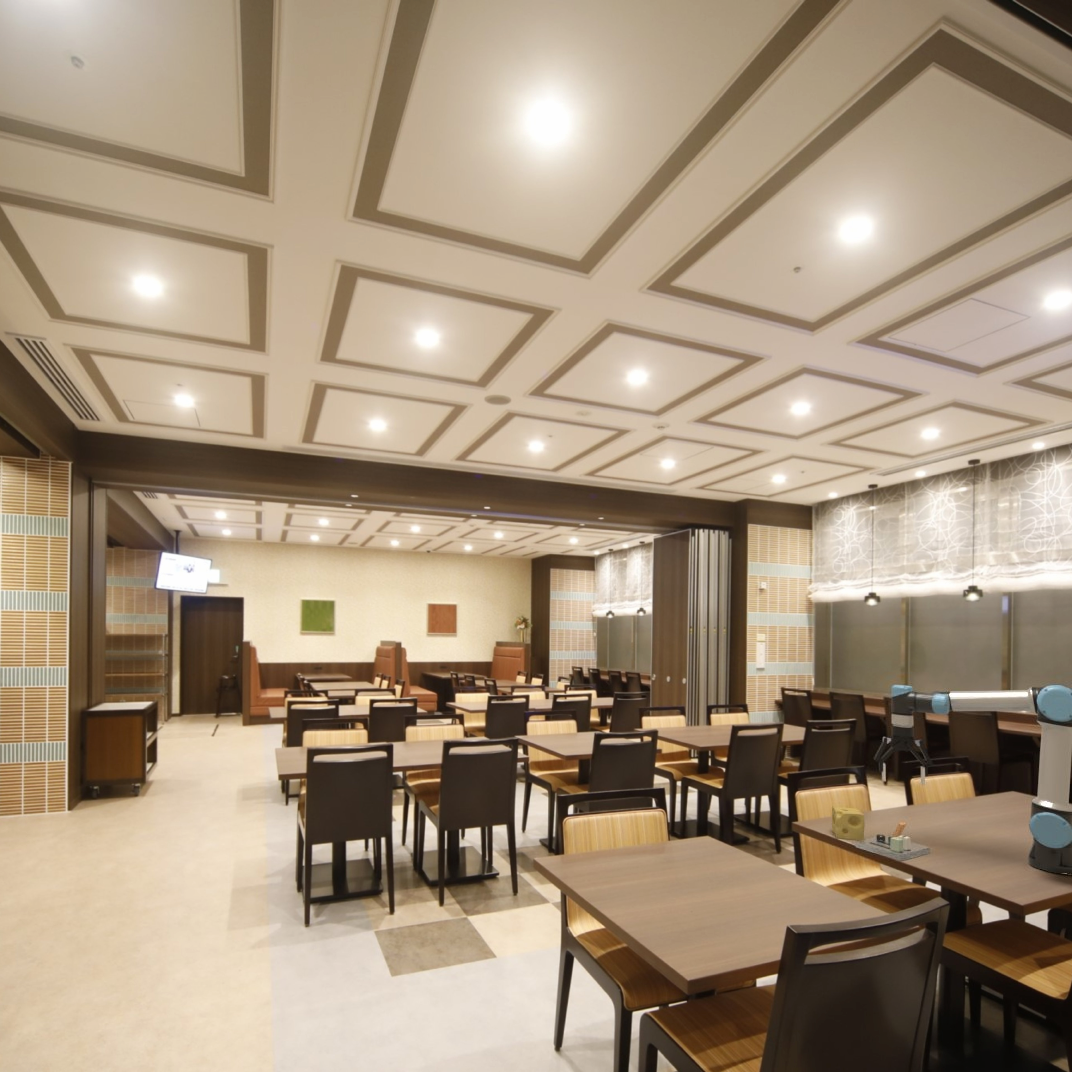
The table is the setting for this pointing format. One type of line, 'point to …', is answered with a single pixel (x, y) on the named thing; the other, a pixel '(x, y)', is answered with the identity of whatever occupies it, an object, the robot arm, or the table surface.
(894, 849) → the slider sage
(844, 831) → the cheese
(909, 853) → the panel
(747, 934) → the table surface
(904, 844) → the slider ivory
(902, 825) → the lever orange
